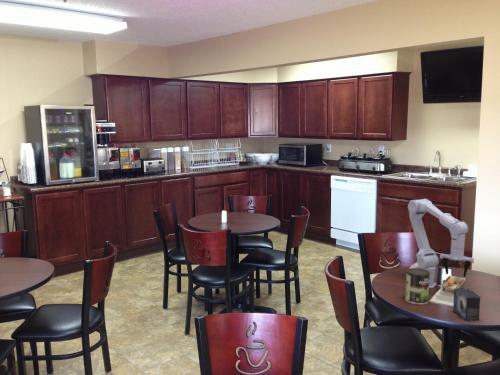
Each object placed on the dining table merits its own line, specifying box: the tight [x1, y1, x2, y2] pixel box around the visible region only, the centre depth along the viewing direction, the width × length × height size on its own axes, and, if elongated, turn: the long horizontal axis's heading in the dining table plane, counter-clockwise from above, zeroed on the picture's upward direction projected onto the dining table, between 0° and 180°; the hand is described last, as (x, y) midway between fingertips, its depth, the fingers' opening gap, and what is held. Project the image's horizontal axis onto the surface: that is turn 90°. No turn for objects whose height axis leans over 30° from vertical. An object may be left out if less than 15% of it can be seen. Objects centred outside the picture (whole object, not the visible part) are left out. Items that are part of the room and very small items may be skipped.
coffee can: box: [404, 267, 430, 306], centre depth 214 cm, size 10×10×14 cm
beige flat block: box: [435, 290, 454, 303], centre depth 215 cm, size 9×8×2 cm
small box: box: [452, 287, 481, 322], centre depth 198 cm, size 11×6×10 cm, turn 5°
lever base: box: [429, 279, 466, 308], centre depth 219 cm, size 13×25×6 cm, turn 144°
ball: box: [447, 279, 454, 286], centre depth 216 cm, size 3×3×3 cm
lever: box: [441, 275, 466, 290], centre depth 222 cm, size 7×17×5 cm, turn 144°
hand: (455, 275), depth 219 cm, fingers open, 7 cm apart
